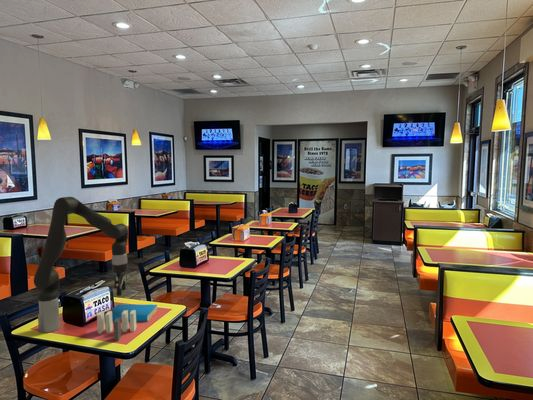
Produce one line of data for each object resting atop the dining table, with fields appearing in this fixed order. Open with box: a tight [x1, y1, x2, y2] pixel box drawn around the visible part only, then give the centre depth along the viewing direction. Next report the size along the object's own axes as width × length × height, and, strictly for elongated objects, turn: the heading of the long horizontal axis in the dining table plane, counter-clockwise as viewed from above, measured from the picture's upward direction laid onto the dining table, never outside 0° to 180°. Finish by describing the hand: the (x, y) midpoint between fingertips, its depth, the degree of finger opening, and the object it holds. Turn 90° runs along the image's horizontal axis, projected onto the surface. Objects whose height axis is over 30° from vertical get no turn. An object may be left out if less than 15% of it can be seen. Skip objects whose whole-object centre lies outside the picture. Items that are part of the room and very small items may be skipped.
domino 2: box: [104, 310, 114, 334], centre depth 200 cm, size 2×5×10 cm, turn 6°
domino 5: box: [129, 310, 137, 333], centre depth 202 cm, size 2×5×10 cm, turn 6°
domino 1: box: [96, 311, 106, 334], centre depth 200 cm, size 2×5×10 cm, turn 5°
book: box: [109, 303, 158, 322], centre depth 221 cm, size 17×4×25 cm
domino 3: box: [113, 318, 122, 342], centre depth 191 cm, size 2×5×10 cm, turn 5°
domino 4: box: [121, 310, 130, 333], centre depth 201 cm, size 2×5×10 cm, turn 6°
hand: (121, 292), depth 195 cm, fingers open, 8 cm apart
